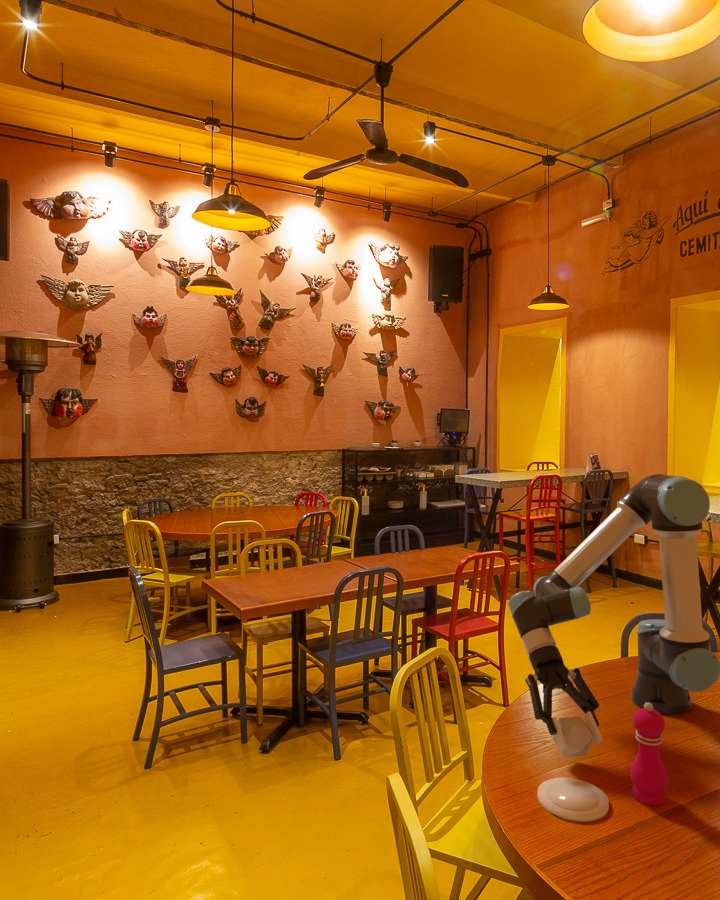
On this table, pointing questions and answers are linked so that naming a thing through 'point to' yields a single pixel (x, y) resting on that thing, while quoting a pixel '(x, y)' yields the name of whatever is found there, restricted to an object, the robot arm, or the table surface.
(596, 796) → the plate
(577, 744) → the die
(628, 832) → the table surface
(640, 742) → the pepper mill
